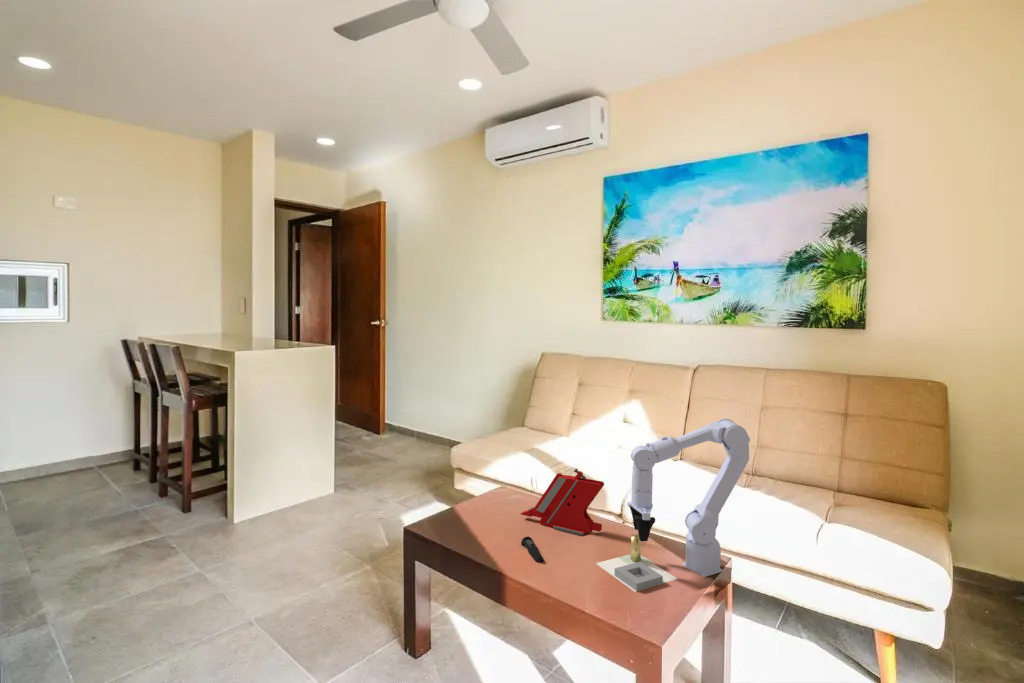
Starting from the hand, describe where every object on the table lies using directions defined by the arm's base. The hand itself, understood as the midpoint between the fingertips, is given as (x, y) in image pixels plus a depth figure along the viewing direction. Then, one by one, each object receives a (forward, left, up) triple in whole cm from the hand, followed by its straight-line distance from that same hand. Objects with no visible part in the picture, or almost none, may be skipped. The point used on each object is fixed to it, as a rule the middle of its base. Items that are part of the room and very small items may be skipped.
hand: (640, 534), depth 151 cm
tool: (+6, -33, -10) cm, 35 cm away
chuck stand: (+4, +3, -9) cm, 11 cm away
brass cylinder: (0, -2, -8) cm, 8 cm away
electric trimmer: (+24, -20, -10) cm, 33 cm away
